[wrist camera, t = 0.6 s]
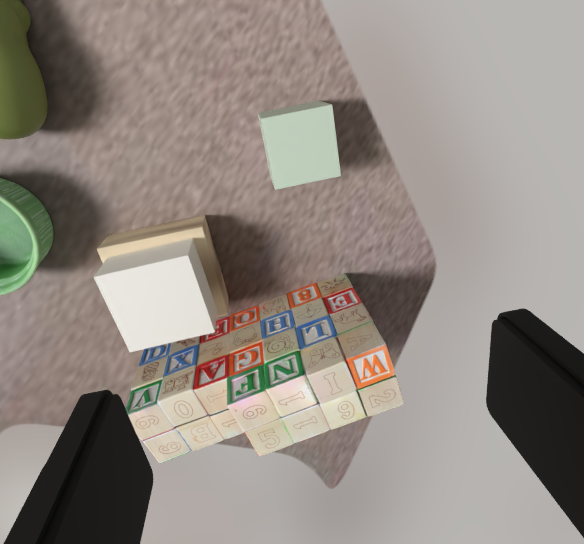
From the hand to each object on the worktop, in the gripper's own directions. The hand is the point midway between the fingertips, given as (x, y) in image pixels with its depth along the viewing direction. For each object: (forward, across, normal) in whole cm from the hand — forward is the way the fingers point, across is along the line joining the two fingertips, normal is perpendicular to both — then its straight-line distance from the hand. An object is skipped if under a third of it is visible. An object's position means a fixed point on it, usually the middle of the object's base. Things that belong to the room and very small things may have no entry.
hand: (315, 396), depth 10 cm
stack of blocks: (+28, +4, +16) cm, 32 cm away
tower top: (+24, +10, +7) cm, 27 cm away
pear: (+27, +16, -11) cm, 33 cm away
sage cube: (+27, -3, -2) cm, 27 cm away
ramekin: (+27, +22, 0) cm, 35 cm away
